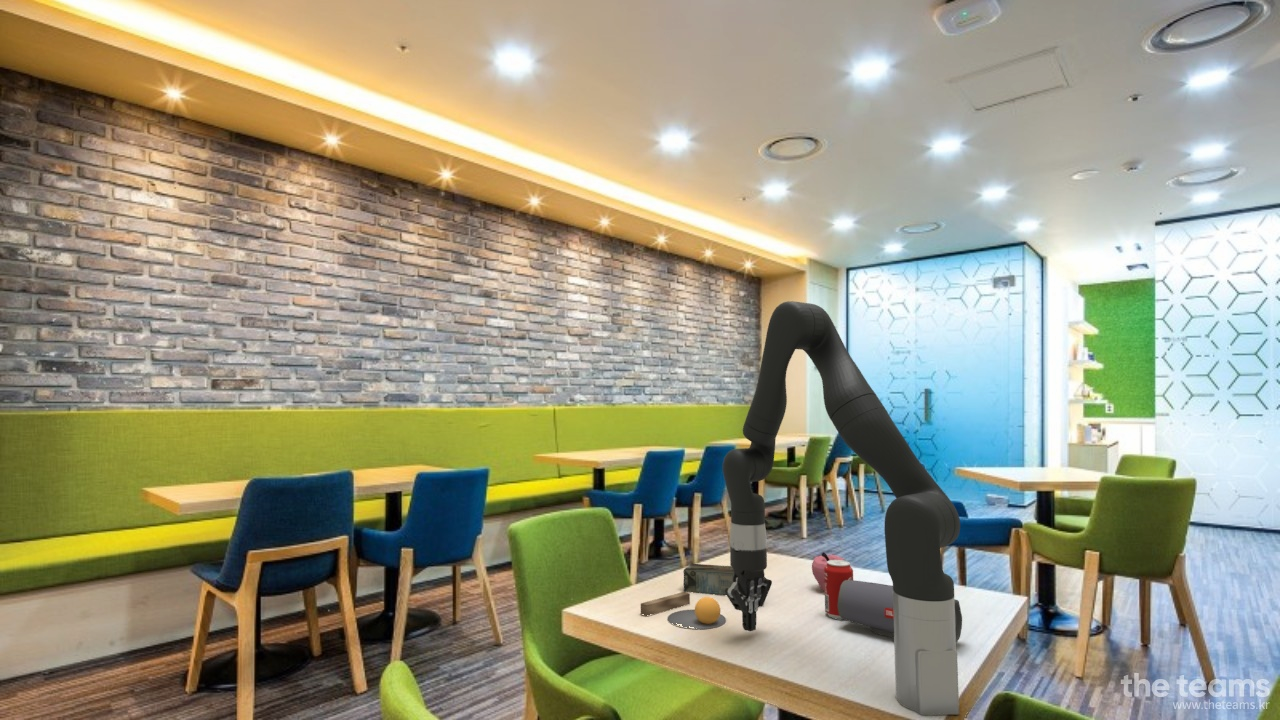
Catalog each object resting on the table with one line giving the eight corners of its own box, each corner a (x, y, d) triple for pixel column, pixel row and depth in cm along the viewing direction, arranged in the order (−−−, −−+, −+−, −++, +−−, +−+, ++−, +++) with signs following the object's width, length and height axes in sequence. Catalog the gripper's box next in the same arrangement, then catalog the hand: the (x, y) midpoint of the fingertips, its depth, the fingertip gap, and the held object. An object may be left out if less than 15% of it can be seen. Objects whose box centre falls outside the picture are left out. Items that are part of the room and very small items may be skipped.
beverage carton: (690, 584, 176) (690, 559, 177) (762, 591, 170) (762, 565, 171) (682, 593, 169) (682, 566, 169) (757, 600, 163) (757, 573, 163)
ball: (698, 624, 147) (717, 632, 143) (685, 611, 144) (704, 619, 140) (710, 601, 149) (729, 609, 145) (698, 589, 147) (717, 596, 142)
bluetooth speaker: (836, 630, 140) (835, 582, 141) (854, 619, 147) (853, 573, 148) (950, 656, 125) (948, 602, 126) (963, 643, 132) (962, 592, 133)
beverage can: (855, 621, 145) (854, 566, 146) (826, 619, 147) (825, 565, 147) (852, 612, 152) (851, 559, 152) (824, 611, 153) (823, 558, 154)
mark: (730, 629, 141) (730, 628, 141) (669, 629, 140) (669, 628, 140) (721, 610, 154) (721, 609, 154) (665, 610, 153) (665, 609, 153)
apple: (847, 597, 163) (846, 556, 164) (811, 594, 166) (810, 554, 167) (847, 587, 172) (846, 548, 173) (813, 584, 175) (812, 546, 176)
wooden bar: (683, 602, 160) (683, 591, 160) (689, 604, 158) (689, 593, 159) (640, 614, 151) (640, 603, 151) (646, 616, 149) (646, 605, 149)
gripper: (754, 537, 144) (755, 618, 143) (713, 546, 136) (714, 632, 134) (782, 543, 139) (783, 627, 137) (741, 552, 130) (742, 642, 129)
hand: (749, 629), depth 136 cm, fingers closed
